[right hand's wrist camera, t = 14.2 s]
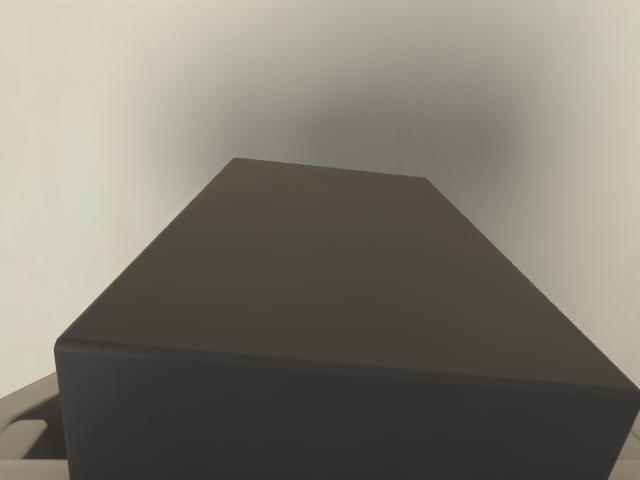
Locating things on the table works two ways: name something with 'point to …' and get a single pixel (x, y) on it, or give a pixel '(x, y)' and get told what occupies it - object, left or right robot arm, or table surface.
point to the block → (332, 346)
